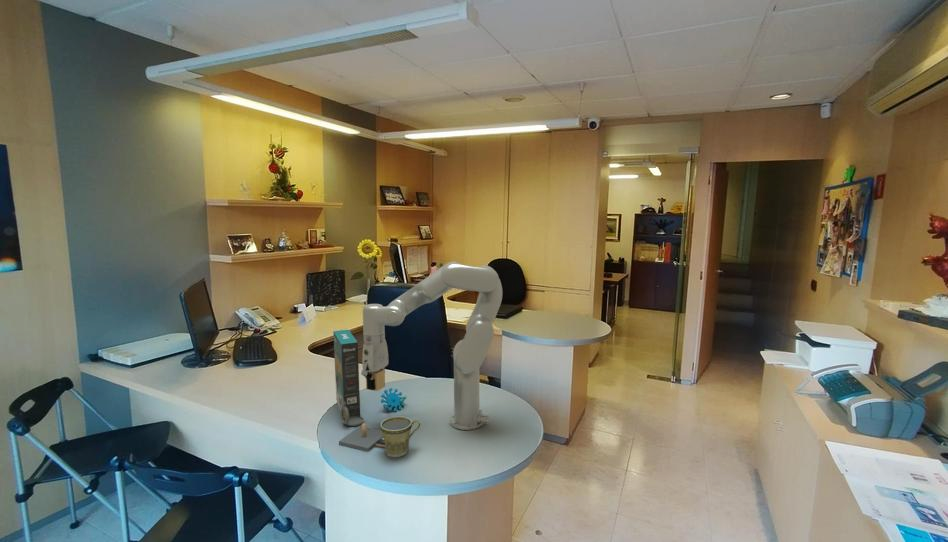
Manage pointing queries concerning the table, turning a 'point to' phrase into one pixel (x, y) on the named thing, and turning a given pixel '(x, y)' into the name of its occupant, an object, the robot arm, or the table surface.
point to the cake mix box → (347, 371)
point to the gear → (393, 400)
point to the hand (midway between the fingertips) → (375, 386)
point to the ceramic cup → (397, 434)
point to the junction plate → (363, 438)
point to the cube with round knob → (378, 379)
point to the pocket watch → (350, 421)
